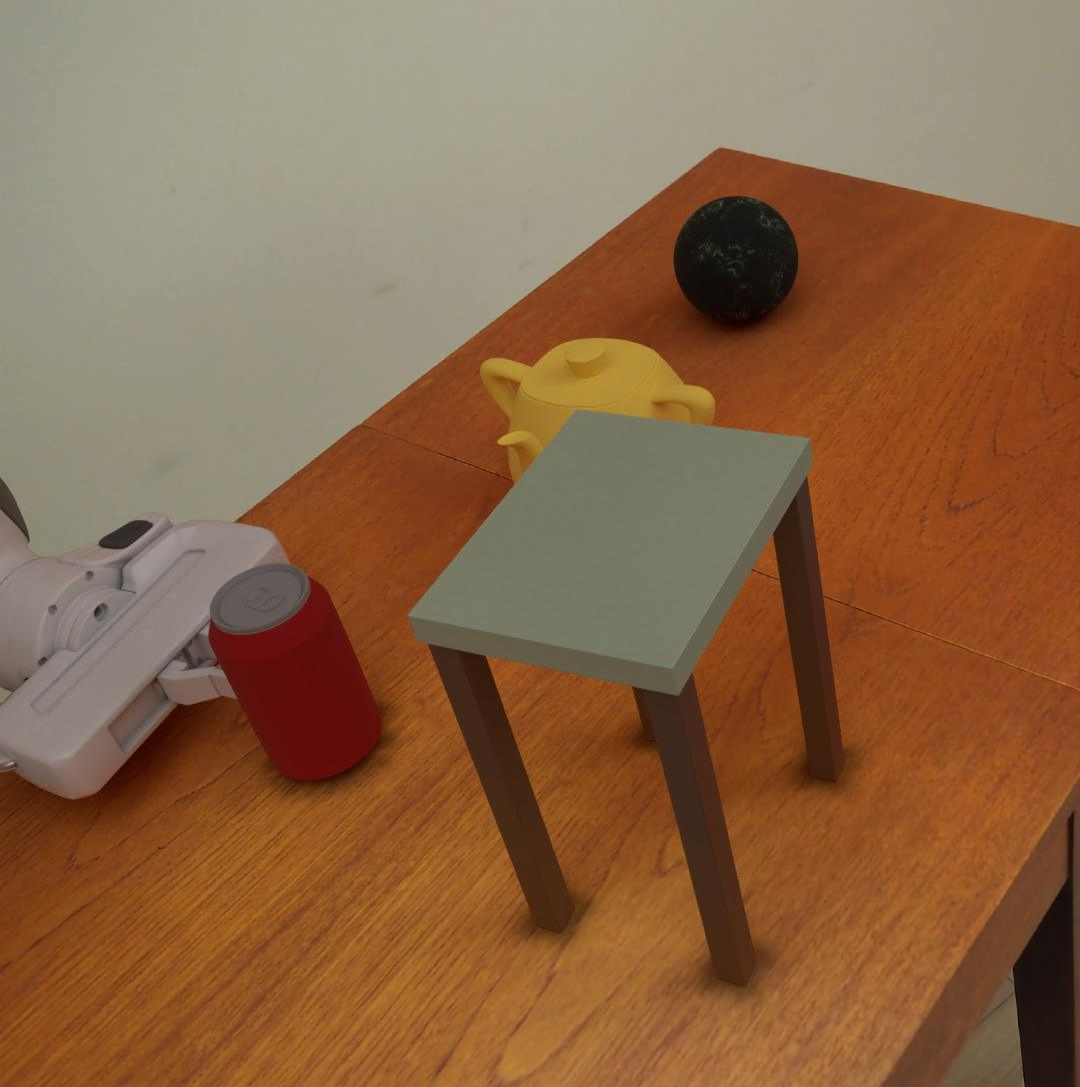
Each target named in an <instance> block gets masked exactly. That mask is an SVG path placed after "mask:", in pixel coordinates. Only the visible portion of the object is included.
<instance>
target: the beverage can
mask: <svg viewBox="0 0 1080 1087" xmlns="http://www.w3.org/2000/svg"><path fill="white" fill-rule="evenodd" d="M210 616H211V619H210V625H209V631H208V638H209V643H210V646H211V648H212V650H213V652H214V654H215V656H216V658H217V660H218V662H217V663H218V664H220V666H221V668H222V670H223V672H224V674H225V676H226V678H227V680H228V682H229V684H230V685H231V687H232V689H233V691H234V693H235V695H236V697H237V699H236V700H237V701H238V703H239V705H240V707H241V708H242V711H243V712H244V714H245V716H246V718H247V720H248V722H249V724H250V725H251V728H252V729H253V731H254V733H255V735H256V737H257V739H258V741H259V743H260V744H261V746H262V748H263V750H264V751H265V753H266V755H267V757H268V760H269V761H270V762H271V765H272V766H273V768H274V769H275V770H276V771H277V772H279V773H280V775H282V776H284V777H287V778H289V779H292V780H298V781H316V780H322V779H327V778H330V777H333V776H335V775H338V774H341V773H343V772H345V771H346V770H349V769H351V768H352V767H353V766H355V765H356V764H358V763H359V762H360V761H361V760H363V759H364V758H365V757H366V756H367V755H368V754H369V753H370V752H371V751H372V749H373V747H375V745H376V743H377V741H378V740H379V737H380V736H381V732H382V728H383V720H382V719H383V718H382V715H381V712H380V709H379V707H378V704H377V702H376V699H375V697H374V694H373V692H372V690H371V687H370V684H369V682H368V680H367V678H366V676H365V672H364V671H363V668H362V666H361V663H360V661H359V659H358V657H357V654H356V651H355V649H354V647H353V645H352V642H351V640H350V638H349V635H348V634H347V631H346V629H345V626H344V624H343V621H342V619H341V617H340V615H339V613H338V611H337V608H336V605H335V604H334V601H333V600H332V598H331V595H330V593H329V591H328V590H327V588H326V587H325V586H323V585H322V584H321V583H320V582H319V581H317V580H315V579H313V578H312V577H311V576H309V575H307V574H306V572H305V571H304V570H303V569H302V568H300V567H298V566H297V565H294V564H291V563H290V564H286V563H271V564H265V565H260V566H257V567H253V568H251V569H248V570H246V571H244V572H242V573H240V574H238V575H236V576H235V577H233V578H232V579H230V580H229V581H227V582H226V583H225V584H224V585H223V586H222V587H221V588H220V589H219V590H218V591H217V592H216V594H215V595H214V597H213V599H212V601H211V604H210Z"/></svg>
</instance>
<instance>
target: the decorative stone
mask: <svg viewBox="0 0 1080 1087" xmlns="http://www.w3.org/2000/svg"><path fill="white" fill-rule="evenodd" d="M673 249H674V250H673V256H672V258H673V259H672V261H673V270H674V274H675V278H676V281H677V284H678V287H679V289H680V290H681V292H682V294H683V296H684V297H685V299H686V300H687V301H688V302H689V303H690V304H691V305H692V307H694V308H695V309H696V310H697V311H698V312H700V313H701V314H703V315H704V316H706V317H708V318H710V319H713V320H716V321H719V322H723V323H728V324H732V325H738V324H739V325H740V324H741V325H742V324H748V323H751V322H755V321H756V320H759V319H762V318H764V317H766V316H767V315H769V314H771V313H772V312H774V310H776V309H777V308H778V307H779V306H780V305H782V303H783V302H784V301H785V300H786V299H787V297H788V296H789V294H790V292H791V291H792V289H793V287H794V284H795V281H796V279H797V275H798V269H799V249H798V245H797V241H796V237H795V235H794V232H793V230H792V228H791V227H790V225H789V223H788V221H786V219H785V218H784V217H783V216H782V215H781V213H780V212H778V211H777V210H776V209H775V208H774V207H772V206H771V205H769V204H768V203H766V202H764V201H762V200H759V199H757V198H753V197H749V196H743V195H730V196H722V197H719V198H715V199H713V200H711V201H709V202H707V203H705V204H704V205H702V206H700V207H698V209H696V210H695V211H694V212H693V213H692V214H691V215H690V216H689V217H688V218H687V220H686V221H685V223H684V224H683V226H682V228H681V229H680V231H679V233H678V235H677V237H676V240H675V244H674V248H673Z"/></svg>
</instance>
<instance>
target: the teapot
mask: <svg viewBox="0 0 1080 1087" xmlns="http://www.w3.org/2000/svg"><path fill="white" fill-rule="evenodd" d="M479 375H480V376H479V377H480V378H481V381H482V383H483V386H484V388H485V389H486V391H487V393H488V394H489V396H490V397H491V398H492V400H493V401H494V403H495V404H496V405H497V406H498V408H499V409H500V411H501V412H503V413H504V415H505V416H506V417H507V419H509V424H508V430H507V433H506V434H505V435H503V436H502V437H500V438H499V439H498V440H497V442H496V443H497V445H499V446H503V447H504V446H505V447H507V459H508V461H507V462H508V468H509V472H510V476H511V480H512V482H513V486H514V485H515V483H516V482H517V481H518V480H519V479H520V477H521V476H522V475H523V474H524V472H525V471H526V470H527V469H528V468H529V466H530V465H531V464H532V463H533V461H534V460H535V459H536V458H537V457H538V455H539V454H540V453H541V452H542V450H543V449H544V448H545V447H546V446H547V444H548V443H549V442H550V441H551V440H552V438H553V437H554V436H555V435H556V433H557V432H558V431H559V430H560V429H561V427H562V426H563V425H564V424H565V422H566V421H567V420H568V419H569V418H570V416H571V415H572V414H573V413H574V412H575V410H576V409H580V410H588V411H596V412H604V413H612V414H620V415H628V416H636V417H644V418H653V419H661V420H669V421H677V422H685V423H693V424H701V425H709V426H713V422H714V419H715V414H716V400H715V398H714V396H713V394H712V393H711V392H710V391H709V390H707V389H706V388H704V387H701V386H698V385H693V384H685V383H684V382H683V380H682V379H681V377H680V376H679V375H678V374H677V372H675V370H674V369H673V368H672V367H671V366H670V364H669V363H668V362H667V361H666V360H665V359H664V358H663V357H662V356H661V355H660V354H659V353H658V352H656V351H655V350H654V349H653V348H650V347H648V346H646V345H644V344H641V343H638V342H634V341H630V340H625V339H619V338H611V337H610V338H609V337H608V338H605V337H592V338H591V337H590V338H589V337H588V338H579V339H573V340H570V341H569V340H568V341H566V342H563V343H560V344H558V345H556V346H554V347H553V348H552V349H550V350H549V351H547V353H546V354H545V355H543V356H542V357H541V358H539V360H538V361H536V363H535V364H534V365H533V366H530V365H528V364H525V363H521V362H519V361H515V360H511V359H508V358H503V357H491V358H488V359H486V360H484V361H483V362H482V364H481V365H480V368H479ZM510 381H512V382H514V383H516V384H519V386H518V390H517V392H516V391H515V389H514V387H513V386H512V384H511V382H510Z"/></svg>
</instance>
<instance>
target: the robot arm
mask: <svg viewBox="0 0 1080 1087" xmlns="http://www.w3.org/2000/svg"><path fill="white" fill-rule="evenodd" d="M30 542H31V538H30V534H29V530H28V526H27V524H26V521H25V518H24V516H23V514H22V511H21V510H20V507H19V505H18V502H17V500H16V498H15V496H14V495H13V493H12V491H11V489H10V488H9V486H8V485H7V484H6V482H5V481H4V480H3V479H2V477H0V688H1V689H3V690H5V691H8V692H10V694H9V695H8V696H7V697H6V698H5V699H4V700H3V701H2V702H1V704H0V773H5V772H11V771H14V773H15V774H16V775H18V776H19V777H21V778H22V779H23V780H26V781H27V782H29V783H30V784H32V785H33V786H34V785H35V786H36V787H38V788H40V789H42V790H45V791H47V792H49V793H52V794H54V795H56V796H58V797H62V798H64V799H67V800H73V801H75V800H79V799H83V798H86V797H90V796H92V795H96V794H97V793H99V792H100V791H101V789H103V787H105V785H106V784H107V783H108V782H109V781H110V780H111V779H112V778H113V776H115V774H117V772H118V771H119V770H120V769H121V768H122V766H123V765H124V764H125V763H126V762H127V761H128V760H129V759H130V758H131V757H132V756H133V755H134V754H135V753H136V752H137V751H138V749H139V748H140V747H141V746H142V745H143V744H144V743H145V742H146V741H147V739H149V737H150V736H151V735H152V734H153V733H154V732H155V730H157V729H158V727H159V726H160V725H161V724H162V723H163V722H164V721H165V720H166V719H167V718H168V717H169V715H170V714H171V713H172V712H173V711H174V710H175V709H176V708H177V707H178V705H179V704H180V705H184V706H191V705H195V704H198V703H203V702H207V701H212V700H215V699H218V698H220V697H226V698H230V699H233V700H238V699H237V697H236V695H235V693H234V691H233V689H232V687H231V685H230V684H229V682H228V680H227V678H226V676H225V674H224V672H223V670H222V668H221V666H220V664H219V662H218V660H217V658H216V656H215V654H214V652H213V650H212V648H211V646H210V643H209V638H208V631H209V625H210V619H211V616H210V604H211V601H212V599H213V597H214V595H215V594H216V592H217V591H218V590H219V589H220V588H221V587H222V586H223V585H224V584H225V583H226V582H227V581H229V580H230V579H232V578H233V577H235V576H236V575H238V574H240V573H242V572H244V571H246V570H248V569H251V568H253V567H257V566H260V565H265V564H271V563H286V564H291V561H290V559H289V557H288V554H287V552H286V550H285V548H284V546H283V544H282V542H281V541H280V539H279V537H278V536H277V535H276V534H275V533H274V532H273V531H271V530H270V529H268V528H265V527H261V526H256V525H253V524H252V525H251V524H245V523H239V522H233V521H224V520H216V519H191V520H185V521H183V522H179V523H177V524H176V525H174V524H173V523H172V521H171V519H169V516H167V515H166V514H164V513H161V512H157V511H147V512H145V513H142V514H140V515H138V516H136V517H134V518H133V519H131V520H130V521H128V522H126V523H125V524H123V525H121V526H120V527H118V528H116V529H115V530H113V531H111V532H109V533H107V534H106V535H104V536H102V537H100V538H98V539H96V540H94V541H92V542H89V543H87V544H85V545H82V546H80V547H77V548H74V549H72V550H70V551H68V552H65V553H64V554H62V555H61V556H56V555H49V556H48V555H46V556H41V555H38V554H36V553H35V552H34V551H33V550H31V549H30V548H29V546H28V544H29V543H30ZM217 663H218V664H217Z"/></svg>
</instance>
